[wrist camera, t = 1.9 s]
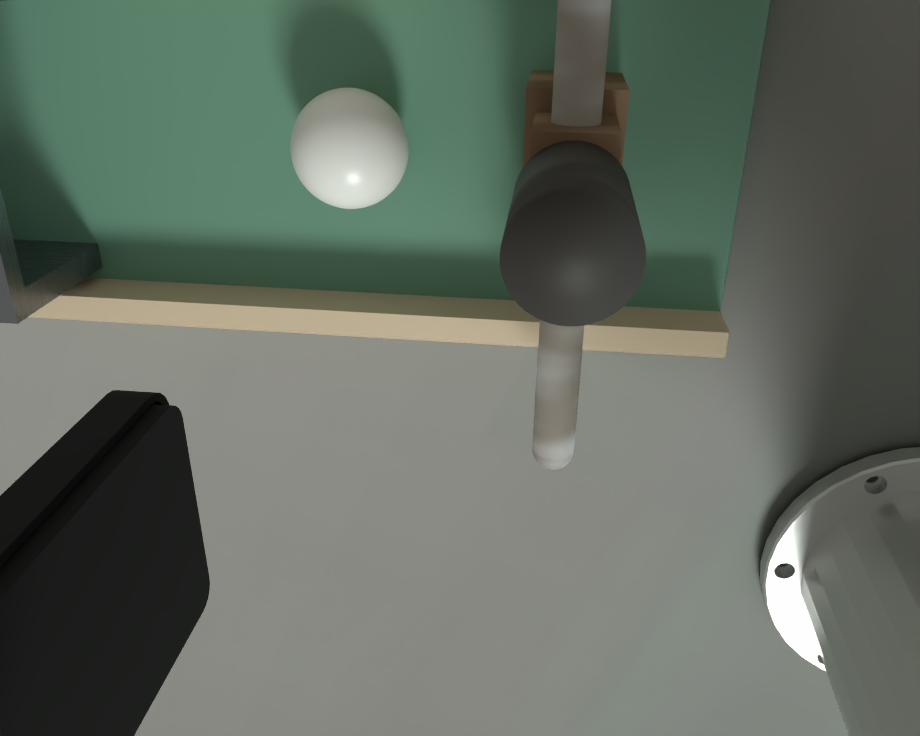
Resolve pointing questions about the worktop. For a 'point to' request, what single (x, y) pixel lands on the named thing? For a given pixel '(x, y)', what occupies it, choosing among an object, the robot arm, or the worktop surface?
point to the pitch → (406, 208)
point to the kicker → (571, 216)
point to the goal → (38, 270)
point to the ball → (349, 148)
